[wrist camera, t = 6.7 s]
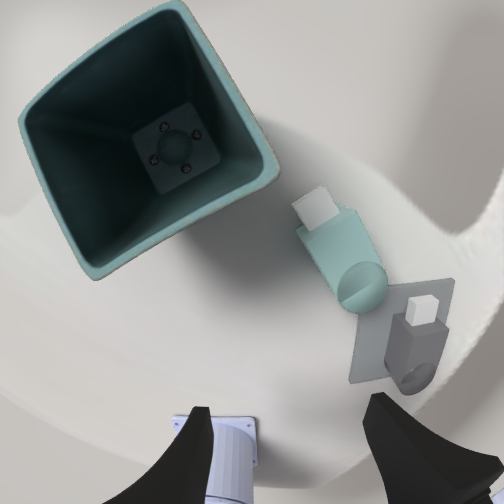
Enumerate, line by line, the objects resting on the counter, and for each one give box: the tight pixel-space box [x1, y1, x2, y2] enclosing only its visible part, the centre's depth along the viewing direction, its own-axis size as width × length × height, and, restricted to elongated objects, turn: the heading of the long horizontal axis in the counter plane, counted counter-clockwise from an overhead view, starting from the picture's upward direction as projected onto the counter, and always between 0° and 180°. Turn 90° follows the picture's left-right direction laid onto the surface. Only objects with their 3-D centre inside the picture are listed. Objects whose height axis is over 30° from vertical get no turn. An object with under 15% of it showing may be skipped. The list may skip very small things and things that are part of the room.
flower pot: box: [18, 0, 281, 281], centre depth 13 cm, size 9×9×9 cm
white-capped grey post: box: [384, 295, 449, 395], centre depth 19 cm, size 8×3×4 cm, turn 3°
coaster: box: [349, 278, 455, 384], centre depth 21 cm, size 9×9×1 cm
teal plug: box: [291, 186, 388, 313], centre depth 17 cm, size 8×3×4 cm, turn 33°
